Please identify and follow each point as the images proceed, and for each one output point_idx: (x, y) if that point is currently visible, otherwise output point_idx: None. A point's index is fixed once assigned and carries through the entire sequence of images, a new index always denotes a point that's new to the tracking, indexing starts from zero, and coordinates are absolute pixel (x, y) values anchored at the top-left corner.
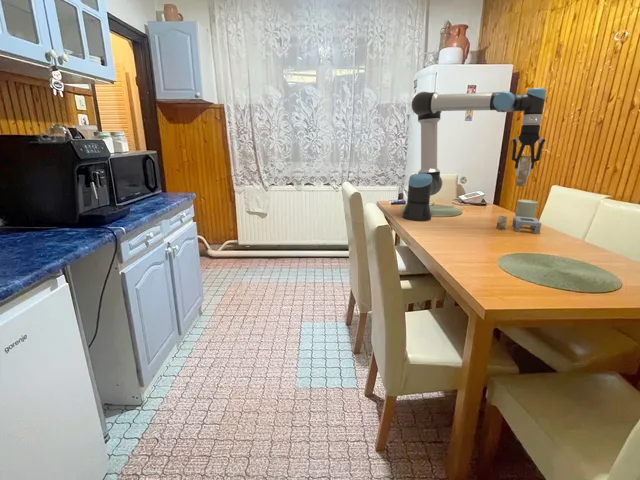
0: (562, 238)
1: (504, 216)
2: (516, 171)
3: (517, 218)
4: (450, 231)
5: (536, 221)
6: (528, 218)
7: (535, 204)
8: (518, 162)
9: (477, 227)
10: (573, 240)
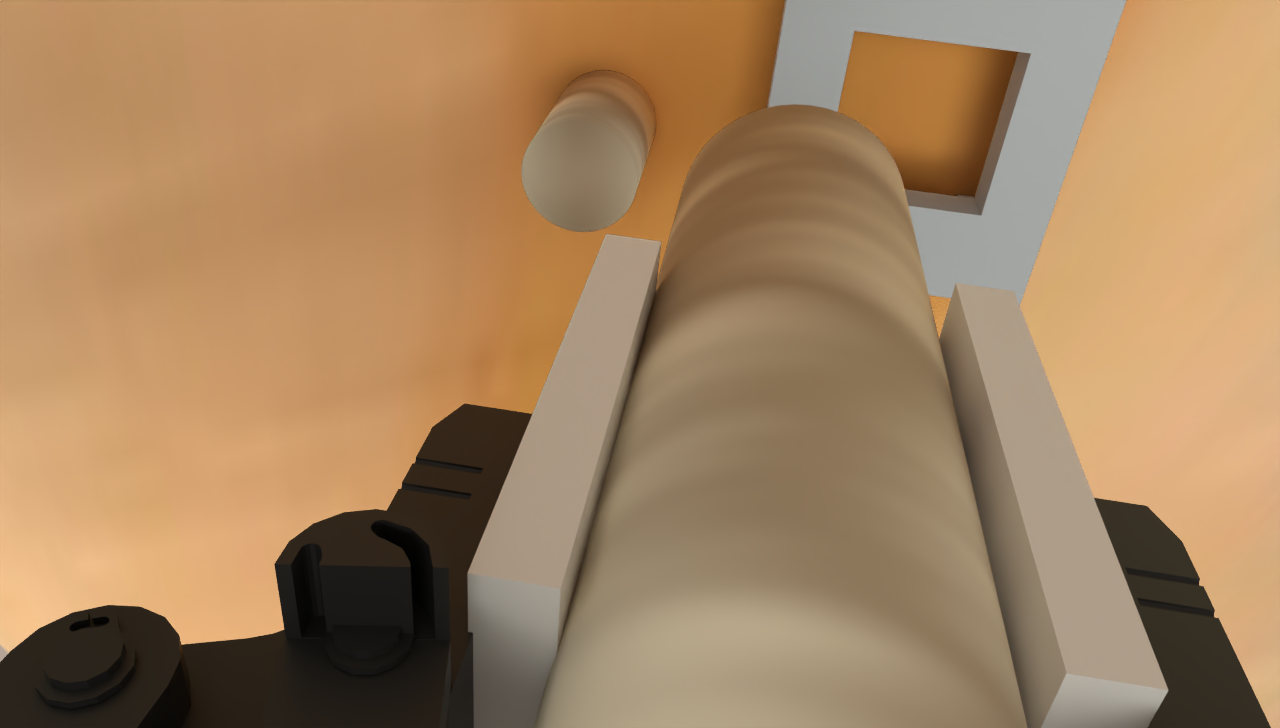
0: (1167, 365)
1: (605, 159)
2: (578, 319)
3: (801, 94)
4: (129, 386)
5: (1008, 212)
6: (979, 37)
7: None
8: (475, 715)
9: (348, 154)
10: (1243, 409)
